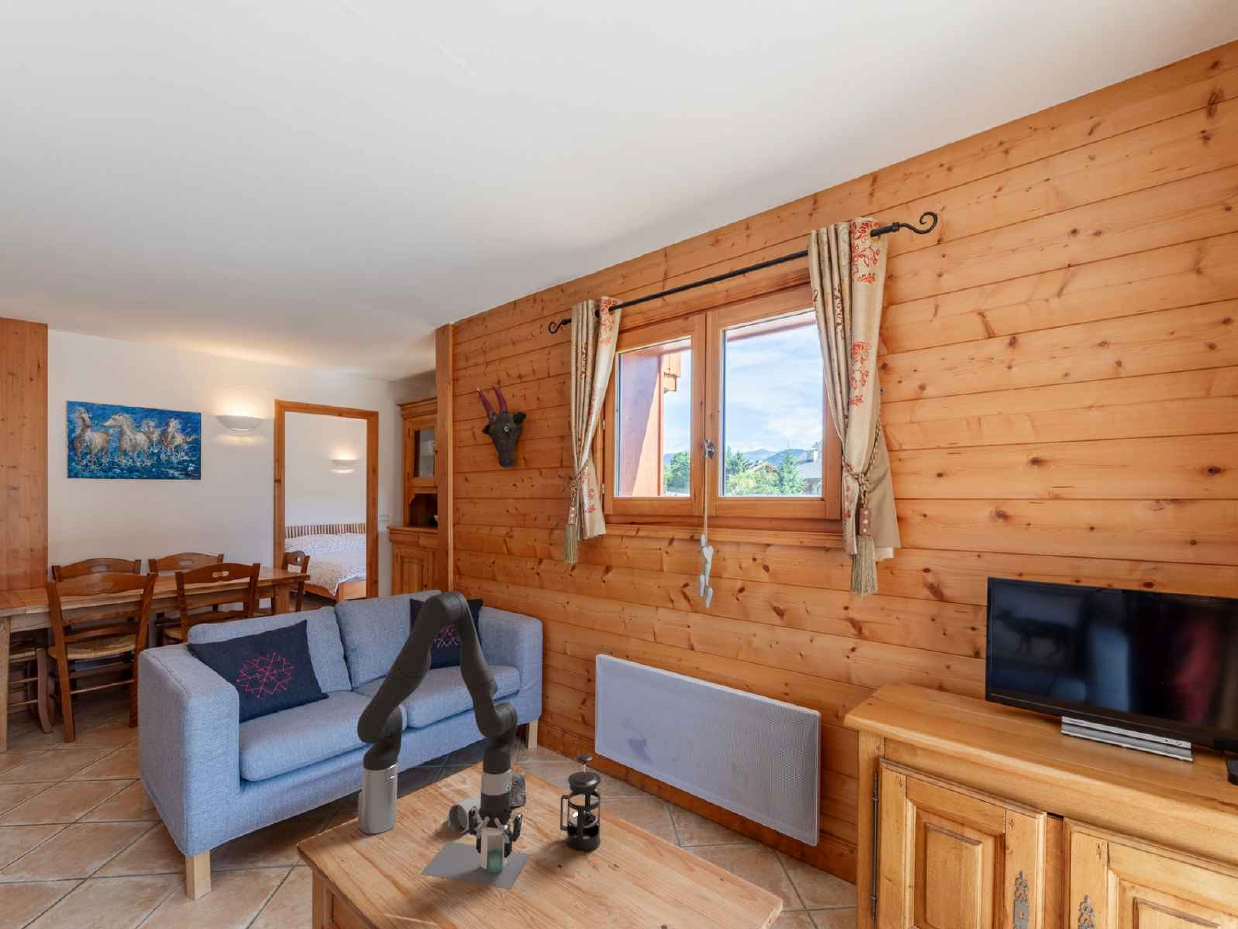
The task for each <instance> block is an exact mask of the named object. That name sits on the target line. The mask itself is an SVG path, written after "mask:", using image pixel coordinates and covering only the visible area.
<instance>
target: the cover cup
mask: <svg viewBox="0 0 1238 929" xmlns="http://www.w3.org/2000/svg"><path fill="white" fill-rule="evenodd" d="M507 826H508V825H507V824H505V825H504V829H506V828H507ZM507 833H508V832H507ZM501 834H502V830H501V831H500V830H499V829H498V828H491V827H485V828H483V827H482V832H481V857H480V863H481V867H483V868H484V869H486V868H487V853H488V852H490V851H492V850H499V851H501V852H502V853H503V860H502V866H505V864H506V862H507V858H504V843H505V840H504V837H503V835H501Z"/></svg>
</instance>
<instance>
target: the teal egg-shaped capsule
mask: <svg viewBox="0 0 1238 929" xmlns="http://www.w3.org/2000/svg"><path fill="white" fill-rule="evenodd" d="M502 858H503V853H502V852H501V851H499V850H492V851H490V852H488V853H487V868H486V872H487V873H489V874H497V873H499V872H501V870H502Z"/></svg>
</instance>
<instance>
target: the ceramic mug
mask: <svg viewBox="0 0 1238 929" xmlns="http://www.w3.org/2000/svg"><path fill="white" fill-rule="evenodd" d="M480 797H481V796H480ZM480 797H479V796H478V795H472V796H470V797H467V798H465V799H463V800H460V801H458V802H456V803H455V804H453V805H452V806H450V808H449V810H448V815H447V818H446V819H447V822H448V824H449V826H450V828H451V830H453V831H454V832H456V831H458V829H459V828H461V827H462V828H463V830H461V831H459V832H458V833H459V834H461V835H462V834H464V833H466V832H467V831H469V821H468V812H469V810H470V809H471V808H472V807H473V806H476V808H480V807H481V806H480V800H481V798H480ZM481 822H483V821H482V819H481V817H480V815H479V814H478V816H477V823H478V824H480V823H481Z"/></svg>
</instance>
